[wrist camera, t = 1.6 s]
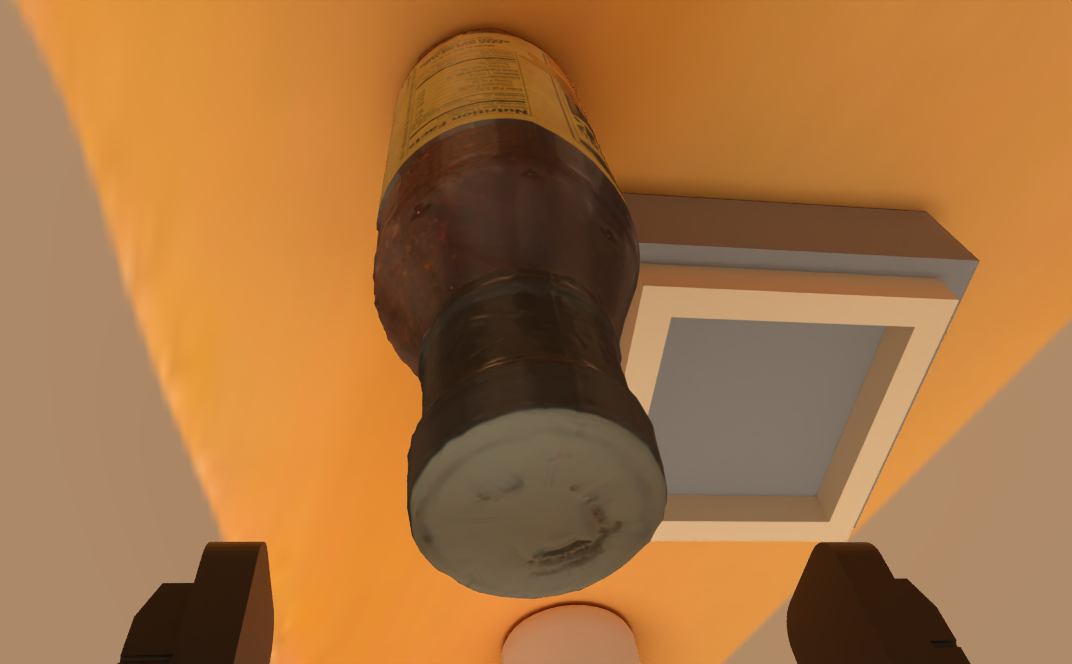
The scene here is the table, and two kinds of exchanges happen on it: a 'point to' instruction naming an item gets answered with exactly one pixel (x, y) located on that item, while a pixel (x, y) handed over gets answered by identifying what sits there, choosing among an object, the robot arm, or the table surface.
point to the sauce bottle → (513, 324)
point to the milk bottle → (571, 638)
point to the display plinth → (781, 355)
